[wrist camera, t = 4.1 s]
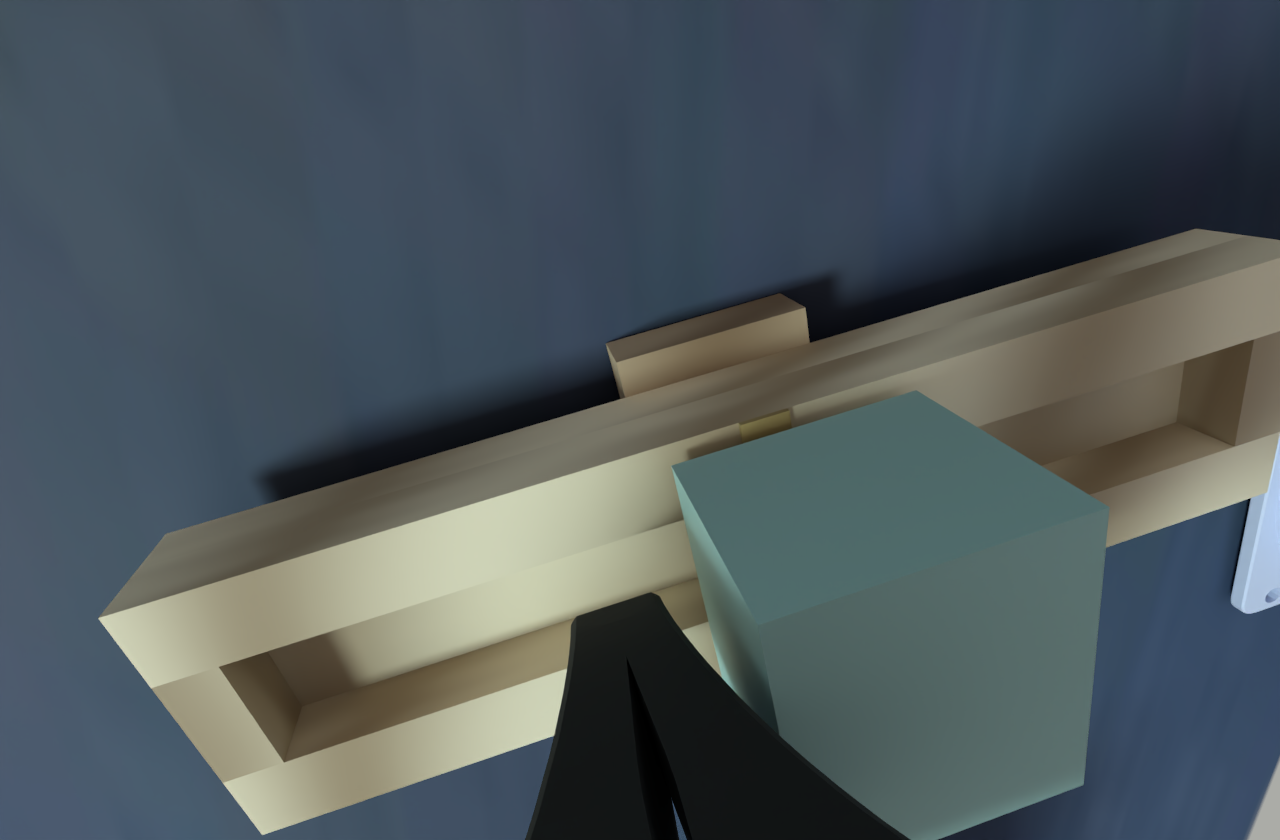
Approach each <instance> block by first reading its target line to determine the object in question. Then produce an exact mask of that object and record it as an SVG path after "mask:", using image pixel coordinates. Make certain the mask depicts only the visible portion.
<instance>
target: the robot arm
mask: <svg viewBox="0 0 1280 840" xmlns="http://www.w3.org/2000/svg"><path fill="white" fill-rule="evenodd" d="M1231 604H1232V605H1233V606H1234V607H1236V608H1237V609H1239V610H1240V611H1242V612H1244V613H1247V614H1250V613H1255V612H1258V611H1261V610H1264V609H1267V608H1269V607H1272V606H1275V605H1278V604H1280V435H1279V440H1278V444H1277V449H1276V454H1275V459H1274V463H1273V468H1272V473H1271V477H1270V482H1269V487H1268V491H1267V493H1264V494H1261V495H1258V496H1255V497H1252V498H1251V499H1250V504H1249V509H1248V514H1247V519H1246V524H1245V529H1244V534H1243V539H1242V544H1241V549H1240V554H1239V559H1238V564H1237V569H1236V574H1235V579H1234V583H1233V588H1232V593H1231ZM671 798H672V799H671ZM672 801H673V803H674V806H675V809H676V811H677V814H678V817H679V819H680V822H681V825H682V827H683V830H684V833H685V835H686V838H687V840H910V839H909V838H908V837H906V836H905V835H903V834H902V833H900V832H899V831H898V830H896V829H895V828H893V827H892V826H890V825H889V824H888V823H886V822H885V821H883V820H882V819H881V818H879V817H878V816H877V815H875V814H874V813H873V812H871V811H870V810H869V809H868V808H866V807H865V806H864V805H862V804H861V803H860V802H858V801H857V800H856V799H855V798H853V797H852V796H851V795H849V794H848V793H847V792H846V791H844V790H843V789H842V788H840V787H839V786H838V785H837V784H835V783H834V782H833V781H832V780H831V779H829V778H828V777H827V776H826V775H825V774H823V773H822V772H821V771H820V770H819V769H817V768H816V767H815V766H814V765H812V764H811V763H810V762H809V761H808V760H807V759H805V758H804V757H803V756H802V755H801V754H800V753H799V752H797V751H796V750H795V749H794V748H793V747H792V746H791V745H790V744H788V743H787V742H786V741H785V740H784V739H783V738H782V737H781V736H780V735H778V734H777V733H776V732H775V731H774V730H773V729H772V728H771V727H770V726H769V725H768V724H767V723H766V722H765V721H764V720H763V719H762V718H761V717H760V716H758V715H757V714H756V713H755V712H754V711H753V710H752V709H751V708H750V707H749V706H748V705H747V704H746V703H745V702H744V701H743V700H742V699H741V698H740V697H739V696H738V695H737V694H736V693H735V692H734V690H733V689H732V688H731V687H730V686H729V685H728V684H727V683H726V682H725V681H724V680H723V679H722V677H721V676H720V675H719V674H718V673H717V672H716V671H715V670H714V669H713V668H712V667H711V665H710V664H709V663H708V662H707V661H706V660H705V659H704V657H703V656H702V655H701V654H700V653H699V652H698V650H697V649H696V648H695V647H694V645H693V644H692V643H691V642H690V640H689V639H688V638H687V637H686V635H685V634H684V633H683V632H682V630H681V629H680V627H679V626H678V625H677V623H676V622H675V621H674V619H673V618H672V616H671V615H670V613H669V611H668V610H667V608H666V607H665V605H664V603H663V601H662V599H661V597H660V596H659V595H656V594H654V593H652V592H650V593H646V594H643V595H640V596H637V597H634V598H631V599H628V600H625V601H622V602H619V603H616V604H613V605H610V606H606V607H603V608H600V609H597V610H594V611H591V612H588V613H585V614H582V615H579V616H576V618H575V619H574V621H573V622H572V624H571V637H570V649H569V658H568V666H567V673H566V679H565V685H564V691H563V696H562V701H561V706H560V711H559V715H558V720H557V725H556V729H555V734H554V739H553V743H552V747H551V751H550V755H549V759H548V763H547V766H546V770H545V774H544V777H543V781H542V784H541V788H540V792H539V795H538V799H537V803H536V806H535V810H534V813H533V816H532V820H531V823H530V826H529V829H528V832H527V835H526V839H525V840H679V837H678V831H677V826H676V820H675V815H674V810H673V804H672Z"/></svg>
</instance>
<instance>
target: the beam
mask: <svg viewBox="0 0 1280 840" xmlns="http://www.w3.org/2000/svg"><path fill="white" fill-rule="evenodd" d="M606 346H607V350H608V354H609V358H610V361H611V365H612V369H613V373H614V376H615V380H616V384H617V388H618V392H619V395H620V399H619V400H616V401H613V402H609V403H606V404H603V405H599V406H596V407H592V408H589V409H586V410H582V411H579V412H576V413H572V414H569V415H565V416H562V417H559V418H555V419H552V420H549V421H545V422H542V423H539V424H535V425H532V426H528V427H525V428H522V429H518V430H515V431H512V432H508V433H505V434H501V435H498V436H495V437H491V438H488V439H485V440H481V441H478V442H474V443H471V444H468V445H464V446H461V447H458V448H454V449H451V450H447V451H444V452H441V453H437V454H434V455H431V456H427V457H424V458H420V459H417V460H414V461H410V462H407V463H404V464H400V465H397V466H393V467H390V468H387V469H383V470H380V471H377V472H373V473H370V474H366V475H363V476H360V477H356V478H353V479H350V480H346V481H343V482H340V483H336V484H333V485H329V486H326V487H323V488H319V489H316V490H313V491H309V492H306V493H302V494H299V495H296V496H292V497H289V498H286V499H282V500H279V501H275V502H272V503H269V504H265V505H262V506H259V507H255V508H252V509H248V510H245V511H242V512H238V513H235V514H232V515H228V516H225V517H221V518H218V519H215V520H211V521H208V522H205V523H201V524H198V525H194V526H191V527H188V528H184V529H181V530H178V531H174V532H171V533H168V534H166V535H165V536H164V537H163V538H162V540H161V541H160V542H159V543H158V545H157V546H156V547H155V548H154V550H153V551H152V552H151V553H150V554H149V556H148V557H147V558H146V559H145V561H144V562H143V563H142V564H141V566H140V567H139V568H138V569H137V571H136V572H135V573H134V574H133V576H132V577H131V578H130V579H129V581H128V582H127V583H126V584H125V586H124V587H123V588H122V589H121V590H120V592H119V593H118V594H117V595H116V597H115V598H114V599H113V600H112V602H111V603H110V604H109V605H108V607H107V608H106V609H105V610H104V612H103V613H102V614H101V615H100V617H99V618H98V619H99V620H100V621H101V623H102V624H103V625H104V627H105V628H106V629H107V631H108V632H109V633H110V634H111V636H112V637H113V638H114V640H115V641H116V642H117V644H118V645H119V646H120V648H121V649H122V650H123V652H124V653H125V654H126V656H127V657H128V658H129V660H130V661H131V662H132V664H133V665H134V666H135V667H136V669H137V670H138V671H139V673H140V674H141V675H142V677H143V678H144V679H145V681H146V682H147V683H148V685H149V686H150V687H151V689H152V690H153V691H154V693H155V694H156V695H157V697H158V698H159V699H160V700H161V702H162V703H163V704H164V706H165V707H166V708H167V710H168V711H169V712H170V714H171V715H172V716H173V718H174V719H175V720H176V722H177V723H178V724H179V726H180V727H181V728H182V730H183V731H184V732H185V733H186V735H187V736H188V737H189V739H190V740H191V741H192V743H193V744H194V745H195V747H196V748H197V749H198V751H199V752H200V753H201V755H202V756H203V757H204V759H205V760H206V761H207V763H208V764H209V765H210V766H211V768H212V769H213V770H214V772H215V773H216V774H217V776H218V777H219V778H220V780H221V781H222V782H223V784H224V785H225V786H226V788H227V789H228V790H229V792H230V793H231V794H232V796H233V797H234V798H235V799H236V801H237V802H238V803H239V805H240V806H241V807H242V809H243V810H244V811H245V813H246V814H247V815H248V817H249V818H250V819H251V821H252V822H253V823H254V825H255V826H256V827H257V829H258V830H259V831H260V832H261V834H262V835H264V834H267V833H270V832H273V831H276V830H279V829H282V828H285V827H288V826H290V825H293V824H296V823H299V822H302V821H305V820H308V819H311V818H314V817H317V816H320V815H323V814H326V813H329V812H332V811H334V810H337V809H340V808H343V807H346V806H349V805H352V804H355V803H358V802H361V801H364V800H367V799H370V798H373V797H376V796H378V795H381V794H384V793H387V792H390V791H393V790H396V789H399V788H402V787H405V786H408V785H411V784H414V783H417V782H420V781H422V780H425V779H428V778H431V777H434V776H437V775H440V774H443V773H446V772H449V771H452V770H455V769H458V768H461V767H464V766H466V765H469V764H472V763H475V762H478V761H481V760H484V759H487V758H490V757H493V756H496V755H499V754H502V753H505V752H508V751H510V750H513V749H516V748H519V747H522V746H525V745H528V744H531V743H534V742H537V741H540V740H543V739H546V738H549V737H551V736H554V734H555V729H556V725H557V720H558V715H559V711H560V706H561V701H562V696H563V691H564V685H565V679H566V673H567V666H568V658H569V649H570V637H571V624H572V622H573V621H574V619H575V618H576V616H579V615H582V614H585V613H588V612H591V611H594V610H597V609H600V608H603V607H606V606H610V605H613V604H616V603H619V602H622V601H625V600H628V599H631V598H634V597H637V596H640V595H643V594H646V593H650V592H652V593H654V594H656V595H659V596H660V597H661V599H662V601H663V603H664V605H665V607H666V608H667V610H668V611H669V613H670V615H671V616H672V618H673V619H674V621H675V622H676V623H677V625H678V626H679V627H680V629H681V630H682V632H683V633H684V634H685V635H686V637H687V638H688V639H689V640H690V642H691V643H692V644H693V645H694V647H695V648H696V649H697V650H698V652H699V653H700V654H701V655H702V656H703V657H704V659H705V660H706V661H707V662H708V663H709V664H710V665H711V667H712V668H713V669H714V670H715V671H716V672H717V673H718V674H719V675H720V676H721V672H720V668H719V663H718V659H717V655H716V651H715V647H714V642H713V638H712V634H711V630H710V626H709V622H708V617H707V613H706V609H705V605H704V601H703V596H702V592H701V588H700V584H699V580H698V576H697V571H696V567H695V563H694V559H693V555H692V550H691V546H690V542H689V538H688V534H687V530H686V525H685V521H684V517H683V513H682V509H681V504H680V500H679V496H678V492H677V488H676V484H675V479H674V475H673V471H672V467H671V466H672V465H675V464H678V463H681V462H685V461H688V460H691V459H694V458H698V457H701V456H704V455H707V454H711V453H714V452H717V451H720V450H724V449H727V448H730V447H733V446H737V445H740V444H743V443H746V442H750V441H753V440H756V439H759V438H763V437H766V436H769V435H772V434H776V433H779V432H782V431H785V430H789V429H792V428H795V427H798V426H802V425H805V424H808V423H811V422H815V421H818V420H821V419H824V418H828V417H831V416H834V415H837V414H840V413H844V412H847V411H850V410H853V409H857V408H860V407H863V406H866V405H870V404H873V403H876V402H879V401H883V400H886V399H889V398H892V397H896V396H899V395H902V394H905V393H909V392H912V391H915V390H917V391H918V392H920V393H922V394H923V395H925V396H927V397H928V398H930V399H932V400H933V401H935V402H937V403H938V404H940V405H941V406H943V407H945V408H946V409H948V410H950V411H951V412H953V413H955V414H956V415H958V416H960V417H961V418H963V419H965V420H966V421H968V422H970V423H971V424H973V425H974V426H976V427H978V428H979V429H981V430H983V431H984V432H986V433H988V434H989V435H991V436H993V437H994V438H996V439H998V440H999V441H1001V442H1003V443H1004V444H1006V445H1008V446H1009V447H1011V448H1012V449H1014V450H1016V451H1017V452H1019V453H1021V454H1022V455H1024V456H1026V457H1027V458H1029V459H1031V460H1032V461H1034V462H1036V463H1037V464H1039V465H1041V466H1042V467H1044V468H1046V469H1047V470H1049V471H1050V472H1052V473H1054V474H1055V475H1057V476H1059V477H1060V478H1062V479H1064V480H1065V481H1067V482H1069V483H1070V484H1072V485H1074V486H1075V487H1077V488H1079V489H1080V490H1082V491H1084V492H1085V493H1087V494H1088V495H1090V496H1092V497H1093V498H1095V499H1097V500H1098V501H1100V502H1102V503H1103V504H1105V505H1107V506H1108V507H1110V508H1109V519H1108V529H1107V540H1106V547H1109V546H1112V545H1115V544H1118V543H1120V542H1123V541H1126V540H1129V539H1132V538H1135V537H1138V536H1141V535H1144V534H1147V533H1150V532H1153V531H1156V530H1159V529H1162V528H1164V527H1167V526H1170V525H1173V524H1176V523H1179V522H1182V521H1185V520H1188V519H1191V518H1194V517H1197V516H1200V515H1203V514H1206V513H1208V512H1211V511H1214V510H1217V509H1220V508H1223V507H1226V506H1229V505H1232V504H1235V503H1238V502H1241V501H1244V500H1247V499H1250V498H1252V497H1255V496H1258V495H1261V494H1264V493H1267V491H1268V487H1269V482H1270V477H1271V473H1272V468H1273V463H1274V459H1275V454H1276V449H1277V444H1278V440H1279V435H1280V240H1276V239H1268V238H1261V237H1254V236H1246V235H1239V234H1232V233H1224V232H1217V231H1210V230H1202V229H1193V230H1189V231H1186V232H1183V233H1179V234H1176V235H1173V236H1169V237H1166V238H1162V239H1159V240H1156V241H1152V242H1149V243H1146V244H1142V245H1139V246H1135V247H1132V248H1129V249H1125V250H1122V251H1119V252H1115V253H1112V254H1108V255H1105V256H1102V257H1098V258H1095V259H1092V260H1088V261H1085V262H1082V263H1078V264H1075V265H1071V266H1068V267H1065V268H1061V269H1058V270H1055V271H1051V272H1048V273H1044V274H1041V275H1038V276H1034V277H1031V278H1028V279H1024V280H1021V281H1017V282H1014V283H1011V284H1007V285H1004V286H1001V287H997V288H994V289H990V290H987V291H984V292H980V293H977V294H974V295H970V296H967V297H963V298H960V299H957V300H953V301H950V302H947V303H943V304H940V305H936V306H933V307H930V308H926V309H923V310H920V311H916V312H913V313H910V314H906V315H903V316H899V317H896V318H893V319H889V320H886V321H883V322H879V323H876V324H872V325H869V326H866V327H862V328H859V329H856V330H852V331H849V332H845V333H842V334H839V335H835V336H832V337H829V338H825V339H822V340H818V341H815V342H812V343H810V340H809V332H808V324H807V316H806V308H805V307H804V306H802V305H800V304H798V303H796V302H795V301H793V300H791V299H789V298H787V297H786V296H784V295H782V294H780V293H779V294H775V295H772V296H768V297H765V298H761V299H758V300H754V301H751V302H748V303H744V304H741V305H737V306H734V307H730V308H727V309H723V310H720V311H716V312H713V313H709V314H706V315H702V316H699V317H695V318H692V319H688V320H685V321H682V322H678V323H675V324H671V325H668V326H664V327H661V328H657V329H654V330H650V331H647V332H643V333H640V334H636V335H633V336H629V337H626V338H623V339H619V340H616V341H612V342H609V343H606ZM721 677H722V676H721Z"/></svg>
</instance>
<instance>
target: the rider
mask: <svg viewBox="0 0 1280 840" xmlns="http://www.w3.org/2000/svg"><path fill="white" fill-rule="evenodd" d="M671 467H672V471H673V475H674V479H675V484H676V488H677V492H678V496H679V500H680V504H681V509H682V513H683V517H684V521H685V525H686V530H687V534H688V538H689V542H690V546H691V550H692V555H693V559H694V563H695V567H696V571H697V576H698V580H699V584H700V588H701V592H702V596H703V601H704V605H705V609H706V613H707V617H708V622H709V626H710V630H711V634H712V638H713V642H714V647H715V651H716V655H717V659H718V663H719V668H720V672H721V676H722V679H723V680H724V681H725V682H726V683H727V684H728V685H729V686H730V687H731V688H732V689H733V690H734V692H735V693H736V694H737V695H738V696H739V697H740V698H741V699H742V700H743V701H744V702H745V703H746V704H747V705H748V706H749V707H750V708H751V709H752V710H753V711H754V712H755V713H756V714H757V715H758V716H760V717H761V718H762V719H763V720H764V721H765V722H766V723H767V724H768V725H769V726H770V727H771V728H772V729H773V730H774V731H775V732H776V733H777V734H778V735H780V736H781V737H782V738H783V739H784V740H785V741H786V742H787V743H788V744H790V745H791V746H792V747H793V748H794V749H795V750H796V751H797V752H799V753H800V754H801V755H802V756H803V757H804V758H805V759H807V760H808V761H809V762H810V763H811V764H812V765H814V766H815V767H816V768H817V769H819V770H820V771H821V772H822V773H823V774H825V775H826V776H827V777H828V778H829V779H831V780H832V781H833V782H834V783H835V784H837V785H838V786H839V787H840V788H842V789H843V790H844V791H846V792H847V793H848V794H849V795H851V796H852V797H853V798H855V799H856V800H857V801H858V802H860V803H861V804H862V805H864V806H865V807H866V808H868V809H869V810H870V811H871V812H873V813H874V814H875V815H877V816H878V817H879V818H881V819H882V820H883V821H885V822H886V823H888V824H889V825H890V826H892V827H893V828H895V829H896V830H898V831H899V832H900V833H902V834H903V835H905V836H906V837H908V838H909V839H910V840H938V839H941V838H943V837H946V836H949V835H951V834H954V833H957V832H959V831H962V830H965V829H967V828H970V827H973V826H975V825H978V824H981V823H983V822H986V821H989V820H991V819H994V818H997V817H999V816H1002V815H1005V814H1007V813H1010V812H1013V811H1015V810H1018V809H1021V808H1023V807H1026V806H1029V805H1031V804H1034V803H1037V802H1039V801H1042V800H1045V799H1047V798H1050V797H1053V796H1055V795H1058V794H1060V793H1063V792H1066V791H1068V790H1071V789H1074V788H1076V787H1079V786H1082V785H1084V774H1085V764H1086V753H1087V742H1088V732H1089V721H1090V710H1091V700H1092V689H1093V678H1094V668H1095V657H1096V646H1097V636H1098V625H1099V614H1100V604H1101V593H1102V582H1103V572H1104V561H1105V550H1106V540H1107V529H1108V519H1109V508H1110V507H1108V506H1107V505H1105V504H1103V503H1102V502H1100V501H1098V500H1097V499H1095V498H1093V497H1092V496H1090V495H1088V494H1087V493H1085V492H1084V491H1082V490H1080V489H1079V488H1077V487H1075V486H1074V485H1072V484H1070V483H1069V482H1067V481H1065V480H1064V479H1062V478H1060V477H1059V476H1057V475H1055V474H1054V473H1052V472H1050V471H1049V470H1047V469H1046V468H1044V467H1042V466H1041V465H1039V464H1037V463H1036V462H1034V461H1032V460H1031V459H1029V458H1027V457H1026V456H1024V455H1022V454H1021V453H1019V452H1017V451H1016V450H1014V449H1012V448H1011V447H1009V446H1008V445H1006V444H1004V443H1003V442H1001V441H999V440H998V439H996V438H994V437H993V436H991V435H989V434H988V433H986V432H984V431H983V430H981V429H979V428H978V427H976V426H974V425H973V424H971V423H970V422H968V421H966V420H965V419H963V418H961V417H960V416H958V415H956V414H955V413H953V412H951V411H950V410H948V409H946V408H945V407H943V406H941V405H940V404H938V403H937V402H935V401H933V400H932V399H930V398H928V397H927V396H925V395H923V394H922V393H920V392H918V391H917V390H915V391H912V392H909V393H905V394H902V395H899V396H896V397H892V398H889V399H886V400H883V401H879V402H876V403H873V404H870V405H866V406H863V407H860V408H857V409H853V410H850V411H847V412H844V413H840V414H837V415H834V416H831V417H828V418H824V419H821V420H818V421H815V422H811V423H808V424H805V425H802V426H798V427H795V428H792V429H789V430H785V431H782V432H779V433H776V434H772V435H769V436H766V437H763V438H759V439H756V440H753V441H750V442H746V443H743V444H740V445H737V446H733V447H730V448H727V449H724V450H720V451H717V452H714V453H711V454H707V455H704V456H701V457H698V458H694V459H691V460H688V461H685V462H681V463H678V464H675V465H672V466H671Z"/></svg>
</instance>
